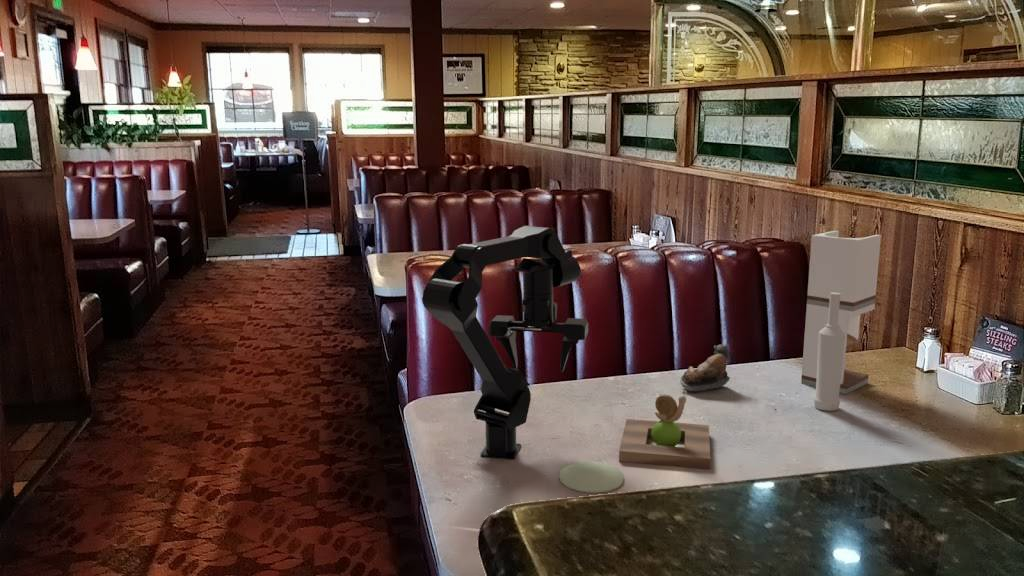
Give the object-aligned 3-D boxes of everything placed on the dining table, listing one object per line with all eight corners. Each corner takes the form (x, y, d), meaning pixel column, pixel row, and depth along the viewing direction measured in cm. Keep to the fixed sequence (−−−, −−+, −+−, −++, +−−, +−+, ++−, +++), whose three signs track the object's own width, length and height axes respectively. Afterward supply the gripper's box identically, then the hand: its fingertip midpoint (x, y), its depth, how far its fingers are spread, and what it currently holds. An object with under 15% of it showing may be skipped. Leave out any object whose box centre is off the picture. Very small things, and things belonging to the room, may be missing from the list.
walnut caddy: (709, 469, 138) (710, 458, 138) (618, 461, 142) (619, 450, 141) (708, 434, 153) (708, 425, 153) (626, 428, 157) (626, 418, 156)
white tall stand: (845, 394, 176) (858, 240, 168) (801, 383, 183) (811, 235, 176) (867, 382, 183) (881, 234, 176) (824, 372, 191) (835, 230, 184)
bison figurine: (690, 397, 175) (692, 353, 173) (673, 387, 181) (674, 345, 179) (734, 390, 179) (737, 347, 177) (716, 381, 185) (718, 340, 183)
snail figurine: (676, 457, 143) (679, 395, 141) (645, 448, 147) (647, 387, 145) (690, 448, 147) (693, 387, 145) (659, 439, 151) (662, 380, 149)
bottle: (835, 403, 170) (844, 290, 165) (842, 411, 165) (852, 296, 160) (810, 402, 171) (818, 290, 166) (817, 410, 166) (826, 295, 160)
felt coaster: (620, 495, 128) (620, 492, 128) (554, 489, 131) (554, 486, 131) (626, 467, 139) (626, 464, 139) (564, 462, 141) (564, 459, 141)
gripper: (592, 284, 155) (591, 359, 158) (500, 281, 159) (502, 355, 162) (584, 297, 144) (584, 377, 148) (486, 293, 148) (488, 372, 152)
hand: (538, 369), depth 153 cm, fingers open, 9 cm apart
